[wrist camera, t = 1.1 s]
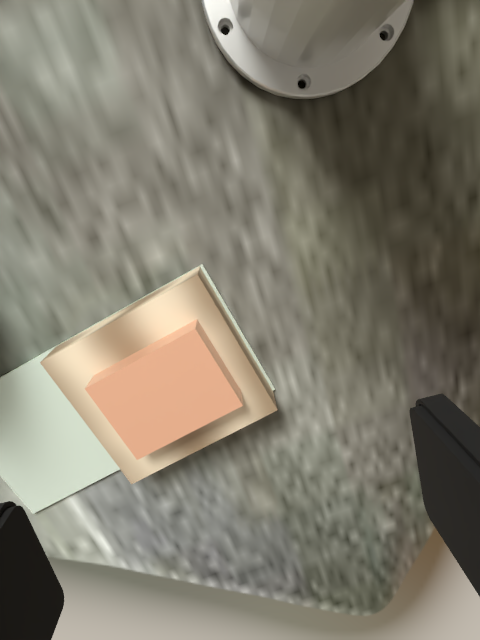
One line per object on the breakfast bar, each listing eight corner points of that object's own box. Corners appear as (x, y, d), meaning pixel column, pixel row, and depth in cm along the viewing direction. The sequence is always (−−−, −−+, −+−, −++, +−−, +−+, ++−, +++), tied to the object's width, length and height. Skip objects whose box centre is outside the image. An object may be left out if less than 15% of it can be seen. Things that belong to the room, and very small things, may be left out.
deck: (199, 266, 31) (197, 274, 28) (272, 390, 34) (277, 410, 31) (56, 346, 32) (39, 362, 29) (139, 459, 35) (131, 484, 32)
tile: (197, 319, 29) (195, 328, 27) (241, 391, 30) (242, 405, 28) (93, 375, 29) (84, 388, 27) (142, 443, 31) (137, 460, 29)
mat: (202, 263, 31) (202, 264, 30) (274, 387, 34) (275, 389, 34) (-55, 407, 33) (-58, 409, 33) (34, 511, 36) (32, 513, 36)
